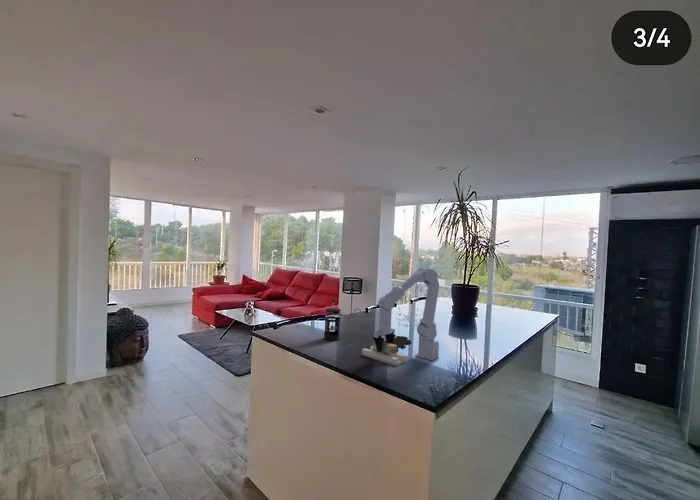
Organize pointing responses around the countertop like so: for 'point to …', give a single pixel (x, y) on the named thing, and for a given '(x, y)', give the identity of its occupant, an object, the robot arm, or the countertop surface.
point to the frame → (387, 349)
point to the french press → (332, 334)
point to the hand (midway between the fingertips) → (383, 350)
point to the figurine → (400, 342)
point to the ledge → (384, 357)
